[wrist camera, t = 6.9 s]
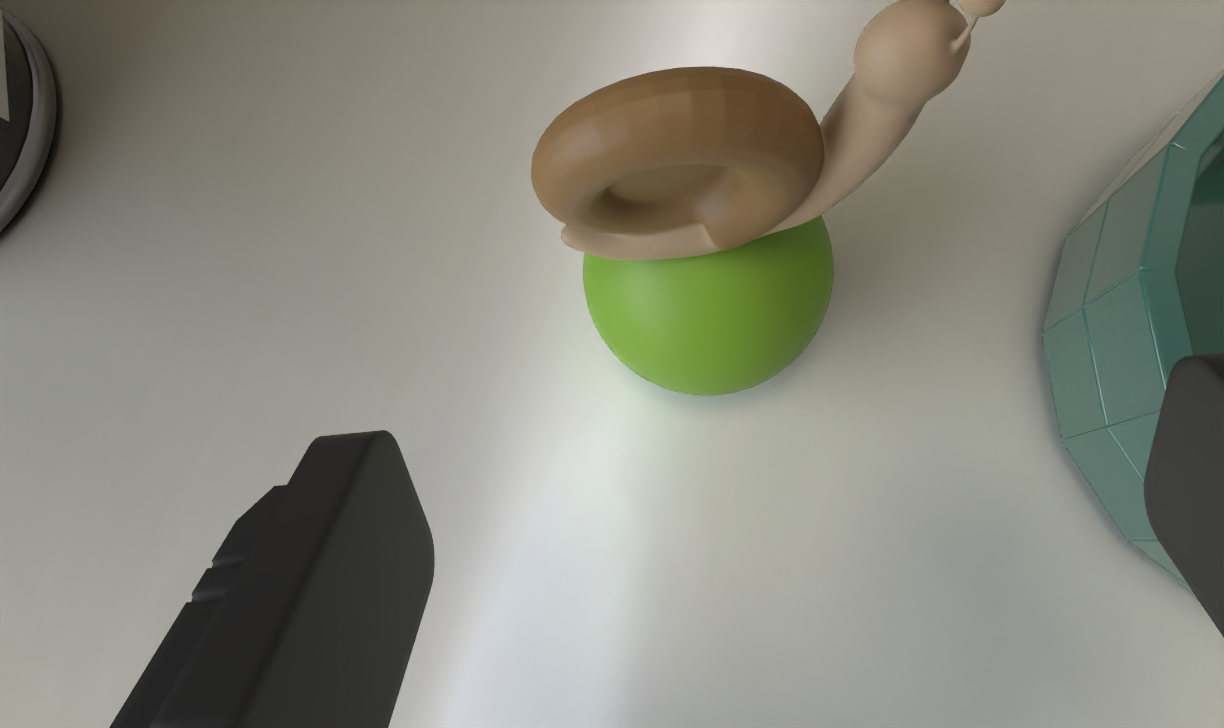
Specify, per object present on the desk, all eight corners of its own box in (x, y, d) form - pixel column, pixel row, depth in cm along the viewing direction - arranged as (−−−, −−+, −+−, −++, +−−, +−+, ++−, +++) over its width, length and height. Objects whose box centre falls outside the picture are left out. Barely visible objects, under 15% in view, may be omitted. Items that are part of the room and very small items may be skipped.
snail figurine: (883, 384, 20) (1079, 172, 8) (621, 429, 21) (467, 290, 9) (836, 177, 21) (949, -259, 10) (590, 226, 22) (420, -122, 10)
